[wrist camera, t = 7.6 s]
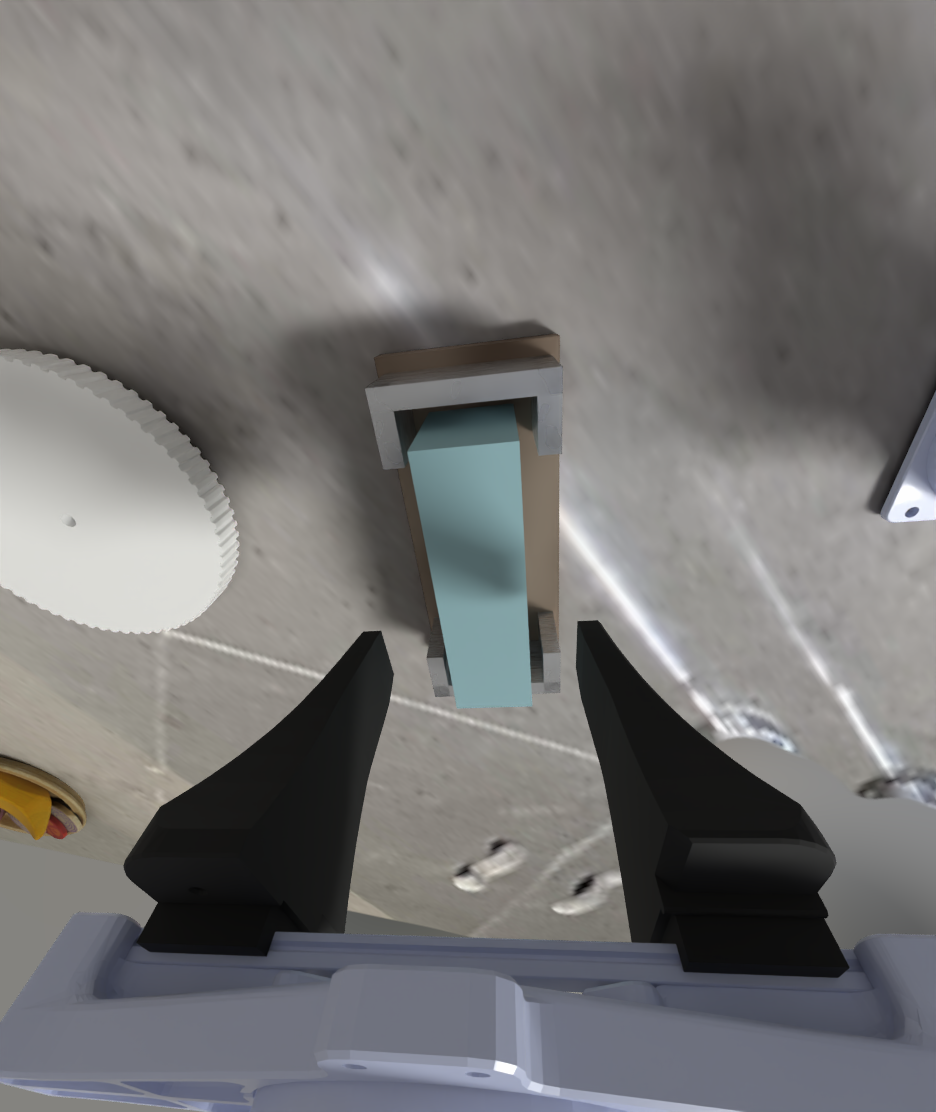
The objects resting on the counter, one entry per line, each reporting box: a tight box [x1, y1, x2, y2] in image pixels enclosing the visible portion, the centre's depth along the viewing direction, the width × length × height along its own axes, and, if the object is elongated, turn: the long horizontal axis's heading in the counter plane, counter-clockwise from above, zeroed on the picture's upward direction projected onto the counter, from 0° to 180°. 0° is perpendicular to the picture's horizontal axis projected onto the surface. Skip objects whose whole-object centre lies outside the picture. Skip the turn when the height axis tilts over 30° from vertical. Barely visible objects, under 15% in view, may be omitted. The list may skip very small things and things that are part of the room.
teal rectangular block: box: [407, 404, 532, 708], centre depth 18 cm, size 3×12×5 cm, turn 7°
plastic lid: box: [0, 349, 239, 634], centre depth 20 cm, size 14×14×2 cm
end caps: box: [365, 355, 563, 697], centre depth 19 cm, size 6×15×3 cm, turn 7°
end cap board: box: [374, 334, 560, 642], centre depth 20 cm, size 7×16×1 cm, turn 6°
